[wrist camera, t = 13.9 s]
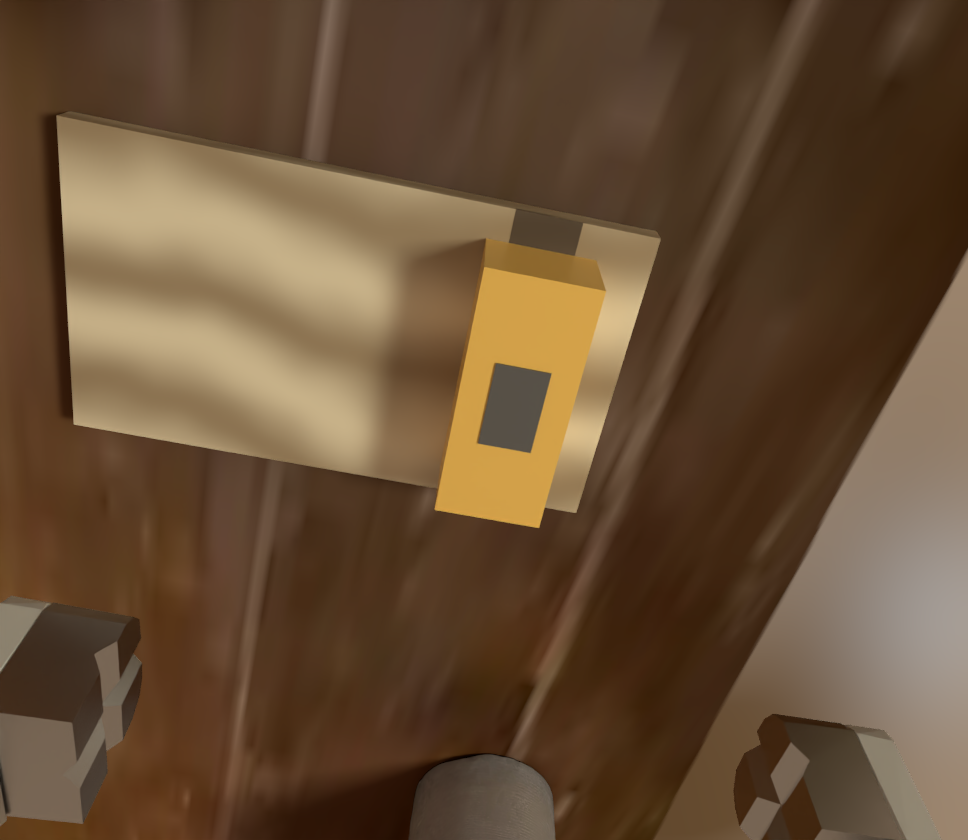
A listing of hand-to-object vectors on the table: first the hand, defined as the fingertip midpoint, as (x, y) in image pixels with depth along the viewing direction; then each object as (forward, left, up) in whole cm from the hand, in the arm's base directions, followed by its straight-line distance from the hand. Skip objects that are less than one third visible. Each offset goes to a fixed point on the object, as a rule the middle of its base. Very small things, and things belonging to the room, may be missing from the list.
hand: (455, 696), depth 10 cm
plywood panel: (+8, -5, -29) cm, 30 cm away
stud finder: (+8, +3, -28) cm, 29 cm away
